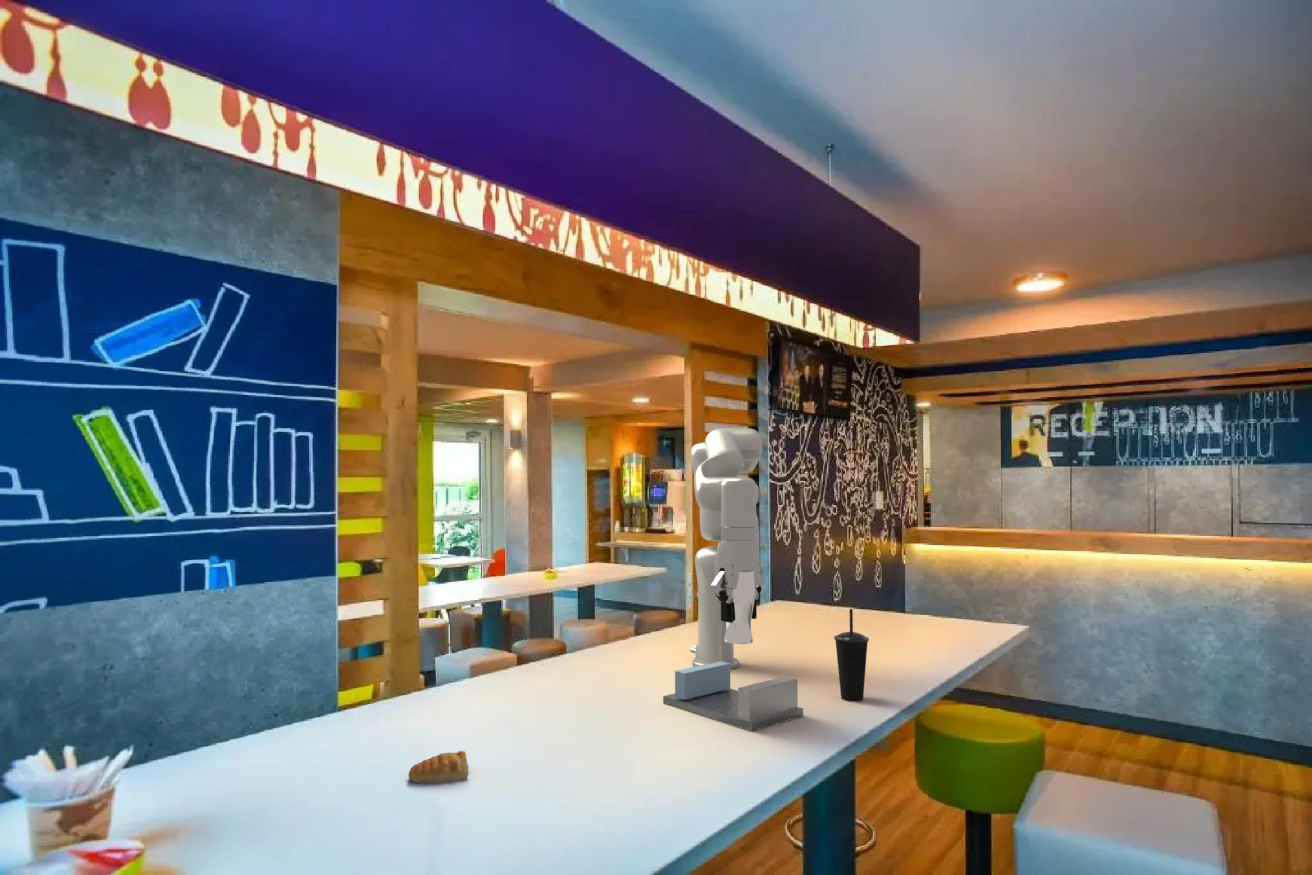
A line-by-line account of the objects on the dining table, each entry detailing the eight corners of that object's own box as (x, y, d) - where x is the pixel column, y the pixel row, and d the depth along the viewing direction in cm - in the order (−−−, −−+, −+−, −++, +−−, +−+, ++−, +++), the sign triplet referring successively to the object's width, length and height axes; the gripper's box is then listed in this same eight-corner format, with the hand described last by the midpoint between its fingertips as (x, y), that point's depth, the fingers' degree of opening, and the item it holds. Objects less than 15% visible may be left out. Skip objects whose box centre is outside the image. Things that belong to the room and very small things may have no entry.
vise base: (663, 702, 168) (663, 668, 168) (714, 690, 178) (714, 658, 179) (751, 731, 148) (751, 692, 149) (803, 715, 159) (802, 679, 159)
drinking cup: (866, 694, 175) (865, 606, 177) (872, 703, 168) (871, 612, 169) (832, 693, 176) (831, 606, 178) (837, 702, 169) (836, 611, 170)
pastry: (410, 790, 120) (411, 765, 120) (406, 775, 126) (406, 751, 126) (471, 780, 123) (471, 756, 124) (463, 767, 130) (464, 744, 130)
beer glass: (718, 642, 160) (718, 571, 161) (727, 637, 166) (728, 568, 167) (750, 645, 157) (750, 572, 158) (758, 639, 164) (758, 569, 165)
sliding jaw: (675, 696, 166) (675, 670, 167) (720, 685, 176) (720, 661, 176) (684, 699, 164) (684, 673, 164) (730, 688, 173) (730, 663, 174)
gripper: (753, 533, 172) (753, 613, 171) (697, 536, 161) (697, 622, 160) (778, 534, 166) (779, 617, 165) (722, 537, 155) (722, 627, 154)
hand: (738, 619), depth 162 cm, fingers closed on beer glass, 6 cm apart
